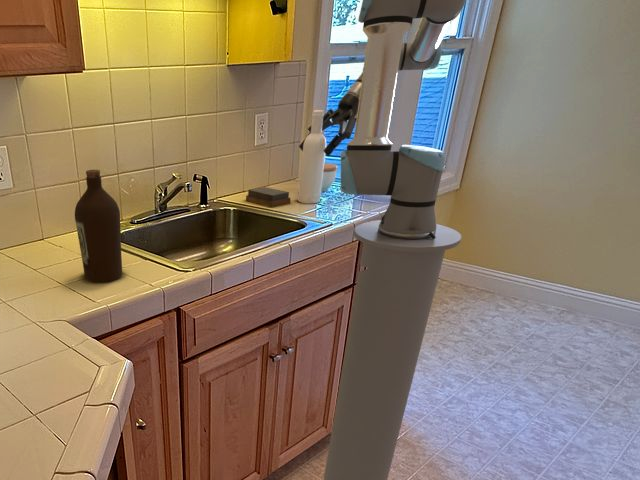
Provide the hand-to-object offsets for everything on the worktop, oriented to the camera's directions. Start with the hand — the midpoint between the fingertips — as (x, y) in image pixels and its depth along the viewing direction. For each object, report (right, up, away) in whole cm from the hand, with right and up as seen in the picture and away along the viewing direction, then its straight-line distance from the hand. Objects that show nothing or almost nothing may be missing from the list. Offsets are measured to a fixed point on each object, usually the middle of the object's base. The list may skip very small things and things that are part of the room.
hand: (313, 151), depth 175 cm
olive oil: (-68, -52, -50) cm, 100 cm away
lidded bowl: (+10, -5, +25) cm, 27 cm away
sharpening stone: (-14, -15, +10) cm, 23 cm away
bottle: (+1, -15, +9) cm, 17 cm away
